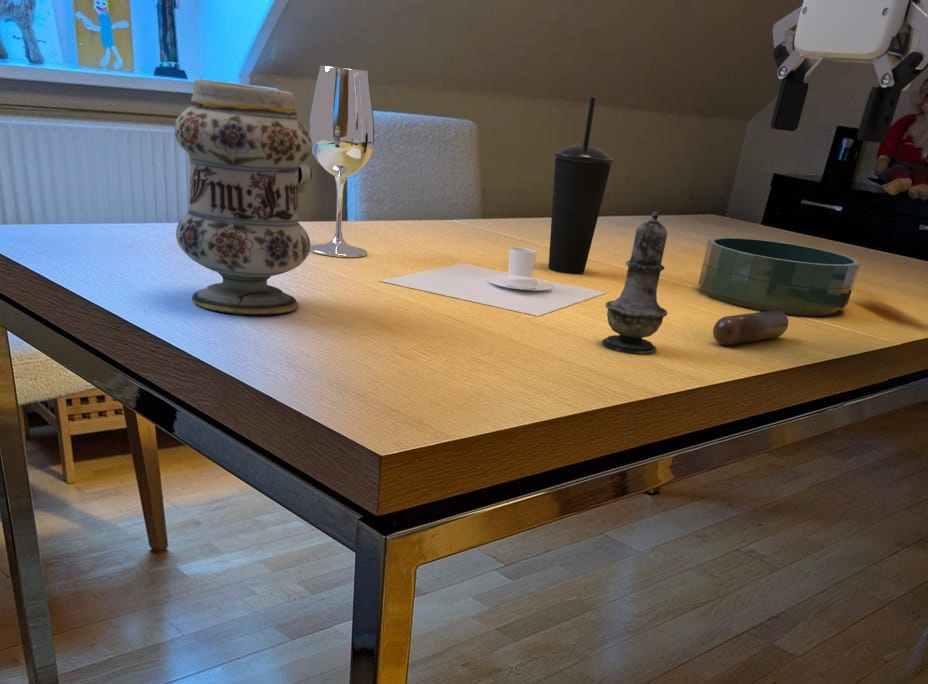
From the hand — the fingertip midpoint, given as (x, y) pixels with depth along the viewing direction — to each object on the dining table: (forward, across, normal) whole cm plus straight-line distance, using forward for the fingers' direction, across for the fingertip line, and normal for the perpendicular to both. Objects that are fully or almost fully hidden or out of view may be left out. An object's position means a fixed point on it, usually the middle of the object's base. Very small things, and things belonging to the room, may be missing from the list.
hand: (824, 135), depth 83 cm
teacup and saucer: (+20, +29, +14) cm, 38 cm away
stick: (+19, +2, 0) cm, 19 cm away
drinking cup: (+19, +38, -4) cm, 43 cm away
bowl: (+19, +19, -23) cm, 35 cm away
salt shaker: (+20, +3, +16) cm, 25 cm away
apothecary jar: (+20, +24, +46) cm, 56 cm away
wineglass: (+20, +50, +24) cm, 59 cm away
